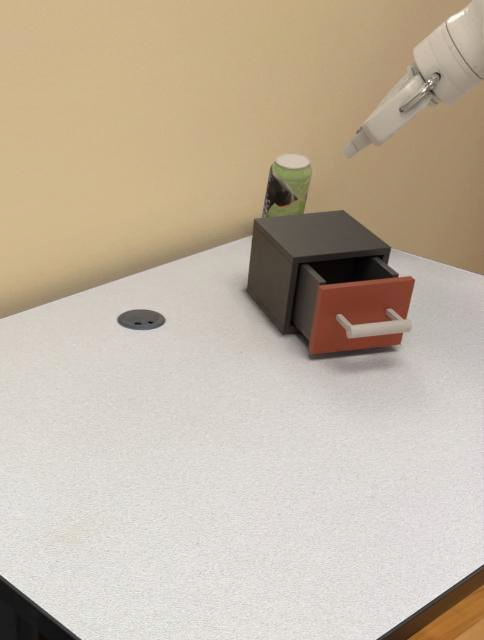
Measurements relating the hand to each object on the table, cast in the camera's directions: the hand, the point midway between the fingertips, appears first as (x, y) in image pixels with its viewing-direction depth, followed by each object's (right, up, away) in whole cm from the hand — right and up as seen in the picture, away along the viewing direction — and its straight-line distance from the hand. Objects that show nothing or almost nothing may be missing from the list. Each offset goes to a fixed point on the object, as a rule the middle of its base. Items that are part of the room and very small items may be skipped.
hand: (352, 144), depth 125 cm
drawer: (-7, -31, -16) cm, 36 cm away
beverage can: (-7, -9, +12) cm, 16 cm away
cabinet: (-8, -25, -7) cm, 27 cm away
